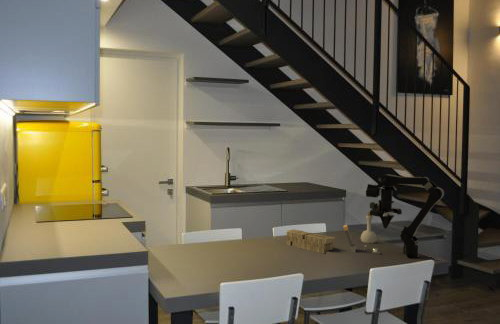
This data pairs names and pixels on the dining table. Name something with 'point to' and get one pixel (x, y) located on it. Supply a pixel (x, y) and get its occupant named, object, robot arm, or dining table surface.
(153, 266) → the dining table surface
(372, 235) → the potion bottle
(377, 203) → the robot arm
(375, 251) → the switch panel
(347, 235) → the orange plate
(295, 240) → the block tower
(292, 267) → the dining table surface
